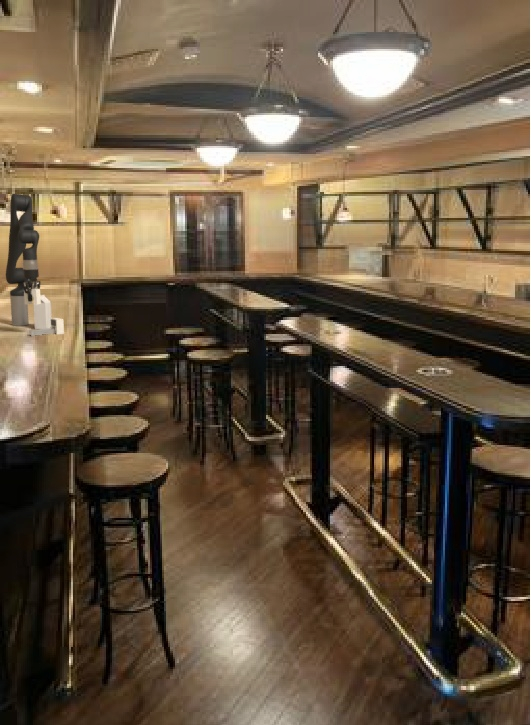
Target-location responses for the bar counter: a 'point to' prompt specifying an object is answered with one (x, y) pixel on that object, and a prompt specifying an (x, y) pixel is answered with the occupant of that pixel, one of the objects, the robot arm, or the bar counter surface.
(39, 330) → the rail
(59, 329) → the block
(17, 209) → the robot arm
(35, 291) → the cream rectangular block
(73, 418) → the bar counter surface
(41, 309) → the milk carton
